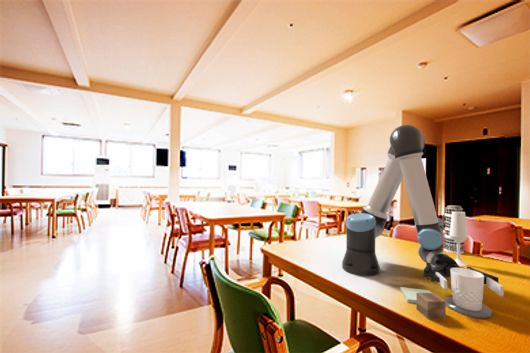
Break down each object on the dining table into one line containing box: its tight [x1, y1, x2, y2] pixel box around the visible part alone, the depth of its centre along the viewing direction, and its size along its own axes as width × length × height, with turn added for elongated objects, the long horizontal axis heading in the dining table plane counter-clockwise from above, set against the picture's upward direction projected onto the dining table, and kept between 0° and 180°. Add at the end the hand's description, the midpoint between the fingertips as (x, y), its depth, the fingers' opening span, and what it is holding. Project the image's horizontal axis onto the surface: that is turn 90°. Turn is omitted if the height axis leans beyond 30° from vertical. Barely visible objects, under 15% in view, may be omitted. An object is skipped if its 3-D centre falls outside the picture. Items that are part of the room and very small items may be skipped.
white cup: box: [450, 267, 485, 311], centre depth 73 cm, size 8×8×10 cm
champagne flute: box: [449, 211, 469, 267], centre depth 112 cm, size 7×7×24 cm
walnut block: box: [416, 292, 447, 320], centre depth 70 cm, size 5×5×5 cm
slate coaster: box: [444, 296, 493, 319], centre depth 73 cm, size 11×11×1 cm
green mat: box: [399, 286, 432, 304], centre depth 79 cm, size 9×9×1 cm
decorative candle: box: [442, 204, 465, 255], centre depth 132 cm, size 9×9×25 cm
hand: (473, 288), depth 70 cm, fingers open, 13 cm apart
